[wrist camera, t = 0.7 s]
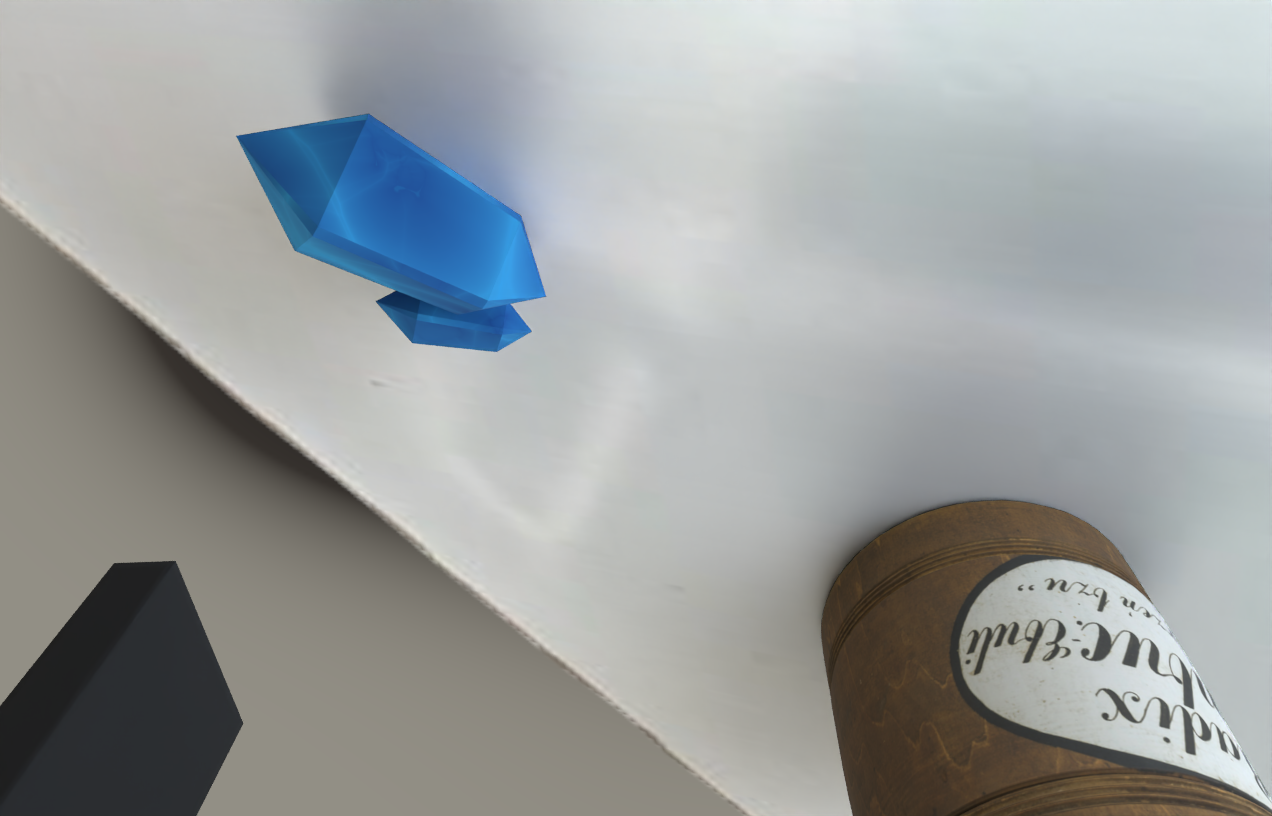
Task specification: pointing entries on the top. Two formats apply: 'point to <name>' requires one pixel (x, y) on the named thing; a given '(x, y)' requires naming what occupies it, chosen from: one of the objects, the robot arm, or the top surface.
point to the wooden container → (1018, 678)
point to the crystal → (401, 228)
